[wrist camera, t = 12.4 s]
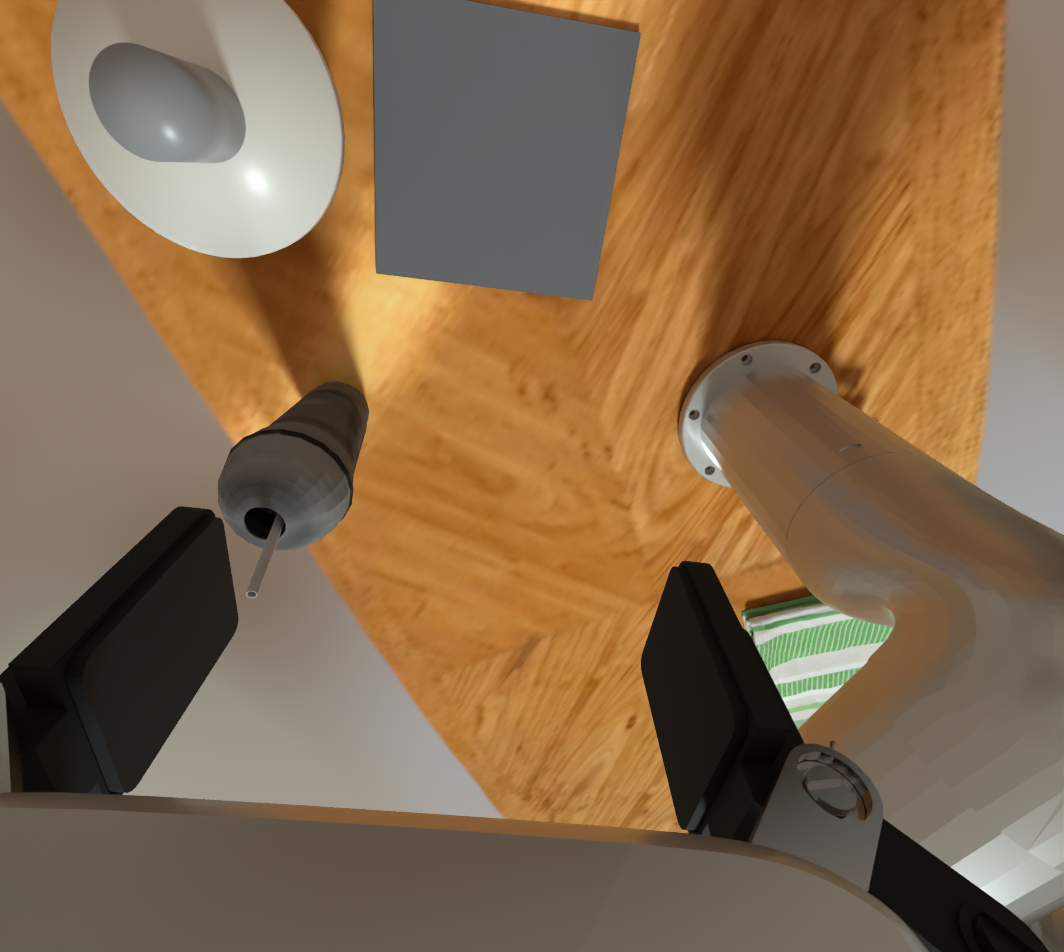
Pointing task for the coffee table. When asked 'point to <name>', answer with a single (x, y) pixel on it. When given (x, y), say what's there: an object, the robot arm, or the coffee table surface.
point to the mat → (496, 143)
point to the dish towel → (810, 650)
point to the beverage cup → (295, 474)
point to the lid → (203, 117)
